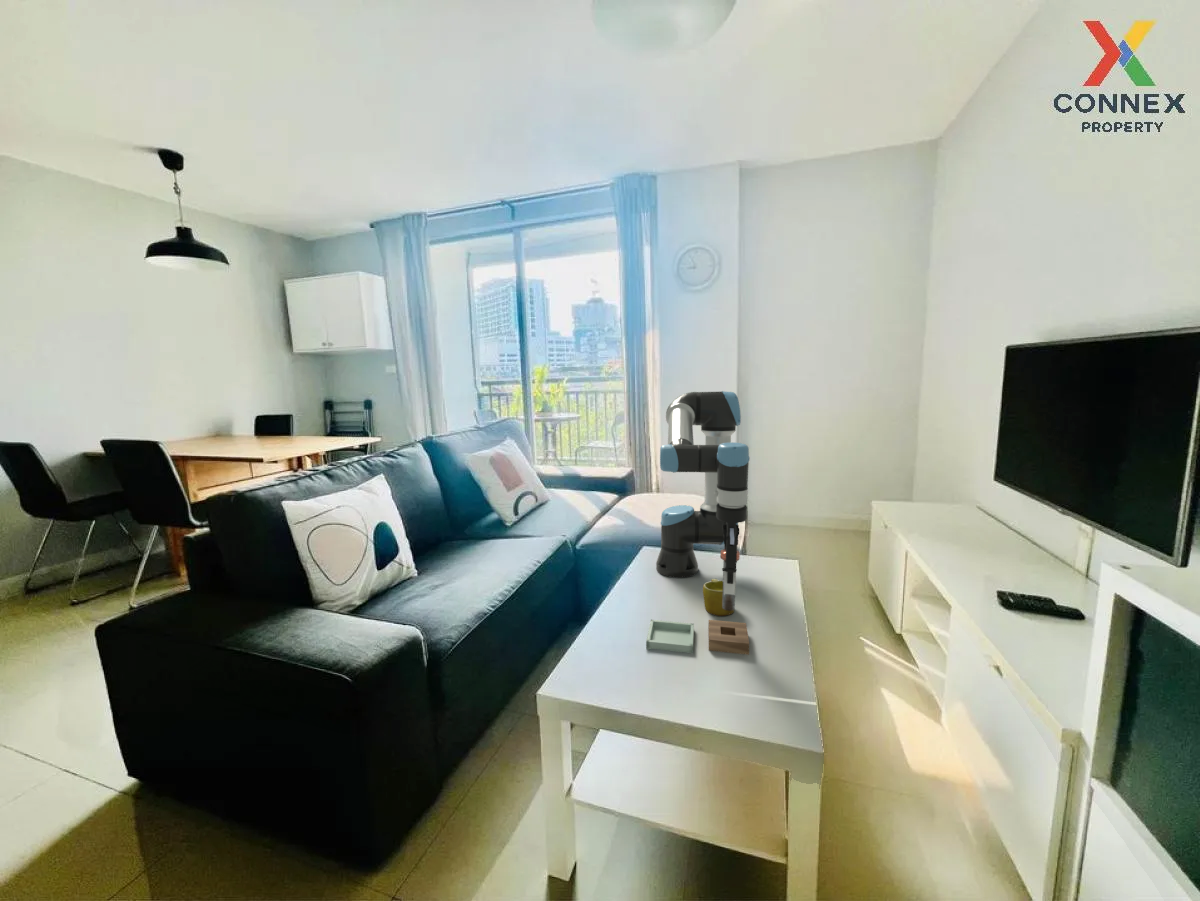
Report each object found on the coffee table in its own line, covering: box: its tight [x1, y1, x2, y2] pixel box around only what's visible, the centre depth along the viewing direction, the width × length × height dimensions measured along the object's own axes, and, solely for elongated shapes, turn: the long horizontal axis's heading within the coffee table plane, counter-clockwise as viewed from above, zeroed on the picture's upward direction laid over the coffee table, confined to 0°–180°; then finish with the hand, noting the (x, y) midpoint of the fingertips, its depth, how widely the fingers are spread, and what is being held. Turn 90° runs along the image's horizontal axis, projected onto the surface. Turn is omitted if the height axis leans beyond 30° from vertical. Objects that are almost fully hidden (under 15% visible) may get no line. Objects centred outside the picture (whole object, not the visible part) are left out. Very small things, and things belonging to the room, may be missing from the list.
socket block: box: [707, 619, 750, 656], centre depth 124 cm, size 10×10×4 cm
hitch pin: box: [720, 549, 741, 611], centre depth 122 cm, size 5×5×16 cm
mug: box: [702, 578, 735, 617], centre depth 142 cm, size 12×10×10 cm
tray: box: [645, 619, 695, 654], centre depth 126 cm, size 11×12×2 cm
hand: (729, 589), depth 122 cm, fingers closed on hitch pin, 3 cm apart
